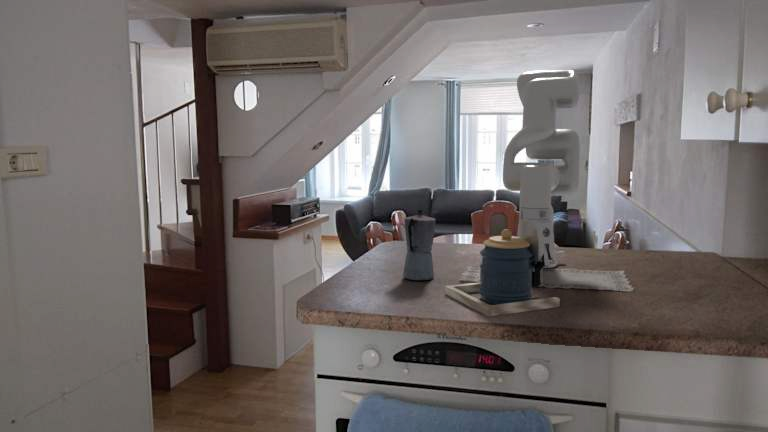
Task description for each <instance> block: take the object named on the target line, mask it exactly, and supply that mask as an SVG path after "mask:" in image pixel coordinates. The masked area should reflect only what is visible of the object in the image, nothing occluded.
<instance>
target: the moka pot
mask: <svg viewBox="0 0 768 432" xmlns="http://www.w3.org/2000/svg"><path fill="white" fill-rule="evenodd" d="M423 213H424V210H423V209H417V215H412V216H411V215H410V216H407V217H404V229H405V231H404V232H405V240H406V241H405V242H406V251H407V252H406V255H405V262H404V268H403V273H402V277H403V278H404V279H406V280H411V281H430V280H433V279H434V278H435V271H434V262H433V254H432V249H433V244H434V237H435V231H436V222H437V220H436V218H434V217H430V216H428V215H427V216H426V215H423Z"/></svg>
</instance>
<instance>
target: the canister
mask: <svg viewBox="0 0 768 432" xmlns="http://www.w3.org/2000/svg"><path fill="white" fill-rule="evenodd" d="M482 243H483V246H484V247H483V248H482V249H481V250H480V251H479V254H480V256H481V262H480V263H479V267H480V268H479V273H480V274H479V282H480V288H479V290H480V291H478V292H479V298H480V299H481V301H482V302H485V303H487V304H491V305H498V304H505V303H513V302H521V301H528V300H532V297H533V291H534V290H533V287H532V269H533V266H532V265H531V257H532V256H533V252H532V251H530V250H529V248H528V247H529V246H530V243H529V242H527V241H526V240H525V239H524V238H521V237H517V235H516V236H515V235H513V232H512V231H511V229H508V228H506V229H505V228H504V229H503V230H502V231H501V234H500V235H494V236H490V237H489V238H488V239H486V240H484V241H483V242H482Z"/></svg>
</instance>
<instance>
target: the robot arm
mask: <svg viewBox="0 0 768 432" xmlns="http://www.w3.org/2000/svg"><path fill="white" fill-rule="evenodd" d="M578 74H579V73H577V71H575V70H574V69H554V70H532V71H526V72H522V73H521V74H520V75H518V77H517V79H516V87H517V93H518V97H519V99H520V102H521V104H522V106H523V109H522V111H523V112H522V128H521V129H520V130H519V131H518V132H517V133H516V134H514V136H513V137H512V138H511V140H510V141H509V142H508V144H507V146H506V148H505V151H504V155H503V156H504V157H503V166H502V183H503V186H504V188H505V189H506V190H508V191H510V192H519V215H518V217H519V218H518V226H517V233H516V237H521V238H524V239H525V240H526V241H527V242H529V243H530V246H529V247H528V248H529V250H530V251H532V252H533V256H532V257H531V265H532V266H533V269H532V288H534V287H541V273H542V272H543V269H551V268H554V267H556V266H558V261H557V260H556V259H557V258H563V257H565V256H566V252H565V251H564V250H562V251H561V250H558V251H556V250H555V233H554V216H555V215H554V213H555V212H554V208H553V206H552V197H553V196H556V197H557V196H559V197H560V196H562V197H563V196H567V197H568V196H573V195H575V194H577V193H578V190H579V183H580V155H581V152H580V151H581V150H580V149H581V147H580V146H581V144H580V143H581V141H580V136H579V133H578V132H577V131H576V130H575V129H570V128H556V109H557V110H558V109H573V108H575V107H577V105H578V103H579V99H580V94H581V93H580V90H581V89H580V88H581V87H580V79H579V78H580V77H579V75H578ZM524 149H525V154H526V156H527V158H528V159H530V160H534V161H561V162H563V163H564V164H554V163H552V162H551V163H550V162H515V159H516V157H517V155H518V154H519V153H520V152H521V151H523V150H524Z"/></svg>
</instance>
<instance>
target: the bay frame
mask: <svg viewBox="0 0 768 432" xmlns="http://www.w3.org/2000/svg"><path fill="white" fill-rule="evenodd" d="M479 288H480V281H479V282H472V283H471V282H470V283H461V284H459V283H458V284H453V285H452V284H451V285H445V287H444V289H445V292H444V294H445V295H447V296H448V297H451V298H452V299H454V300H456V301H458V302H460V303H462V304H464V305H465V306H467V307H469V308H471V309H473V310H474V311H477V312H479V313H480V314H482V315H484V316H486V317H495V316H501V315H508V314H516V313H524V312H531V311H538V310H544V309H545V310H546V309H553V308H560V301H561V299H560V297H557V296H554V297H545V298H537V299H531V300H528V301H521V302H513V303H505V304H498V305H497V304H490V303H488V302H485V301H483V300H480V299H478V298H477V297H474V296H472V295H470V294H469V293H477V292H479V291H480V290H479Z"/></svg>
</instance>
